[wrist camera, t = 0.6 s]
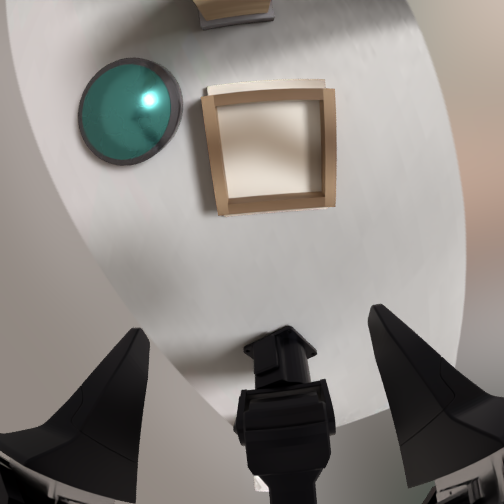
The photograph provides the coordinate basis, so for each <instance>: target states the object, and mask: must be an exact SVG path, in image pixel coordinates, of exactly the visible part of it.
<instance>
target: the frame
mask: <svg viewBox="0 0 504 504" xmlns="http://www.w3.org/2000/svg"><path fill="white" fill-rule="evenodd" d="M207 90H208V96H203V97H201V102H202V109H203V117H204V124H205V132H206V139H207V146H208V153H209V160H210V166H211V173H212V180H213V186H214V193H215V199H216V205H217V212H218V216H221V215H225V217H229V216H240V215H251V214H263V213H275V212H288V211H302V210H317V209H327V207H335V203H336V161H337V144H336V104H335V89H327V88H326V87H325V79H280V80H261V81H249V82H238V83H229V84H221V85H214V86H207Z"/></svg>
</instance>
